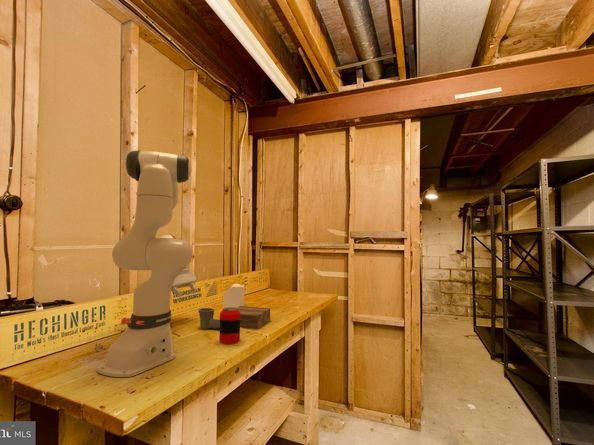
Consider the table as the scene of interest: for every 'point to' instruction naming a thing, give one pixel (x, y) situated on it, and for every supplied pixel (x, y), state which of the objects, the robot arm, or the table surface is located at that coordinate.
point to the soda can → (229, 325)
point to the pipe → (208, 319)
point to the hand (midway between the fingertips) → (188, 293)
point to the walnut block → (253, 317)
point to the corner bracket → (234, 296)
